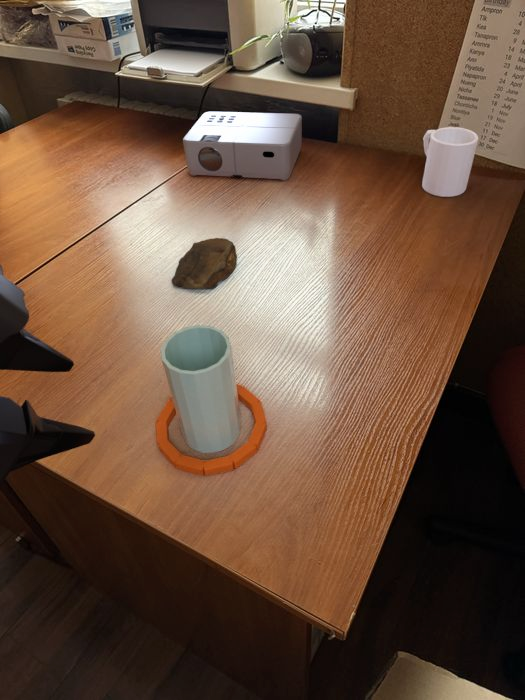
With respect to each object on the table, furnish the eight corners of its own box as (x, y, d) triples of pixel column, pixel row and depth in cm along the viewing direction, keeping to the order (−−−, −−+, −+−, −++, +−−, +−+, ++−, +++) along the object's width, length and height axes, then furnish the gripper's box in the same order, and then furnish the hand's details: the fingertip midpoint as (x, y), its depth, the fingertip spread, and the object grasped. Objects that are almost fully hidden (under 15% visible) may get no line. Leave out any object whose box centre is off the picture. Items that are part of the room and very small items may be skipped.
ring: (161, 485, 53) (159, 479, 52) (155, 398, 62) (153, 392, 61) (276, 461, 55) (275, 455, 54) (253, 379, 63) (253, 373, 62)
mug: (434, 166, 103) (444, 117, 96) (474, 190, 95) (488, 138, 88) (401, 175, 101) (409, 125, 94) (439, 201, 93) (450, 148, 86)
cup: (175, 449, 56) (151, 370, 47) (191, 403, 61) (172, 322, 52) (234, 456, 55) (221, 376, 46) (246, 408, 60) (236, 327, 51)
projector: (209, 145, 117) (204, 110, 111) (302, 148, 113) (302, 112, 107) (186, 177, 105) (179, 140, 100) (289, 183, 101) (288, 144, 96)
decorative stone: (220, 296, 76) (218, 277, 73) (163, 287, 78) (159, 269, 76) (242, 258, 83) (240, 239, 81) (189, 250, 85) (186, 232, 83)
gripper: (-91, 348, 25) (163, 407, 36) (-84, 195, 37) (103, 273, 48) (-169, 496, 28) (85, 509, 39) (-139, 310, 41) (48, 359, 51)
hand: (81, 399), depth 44 cm, fingers open, 9 cm apart
